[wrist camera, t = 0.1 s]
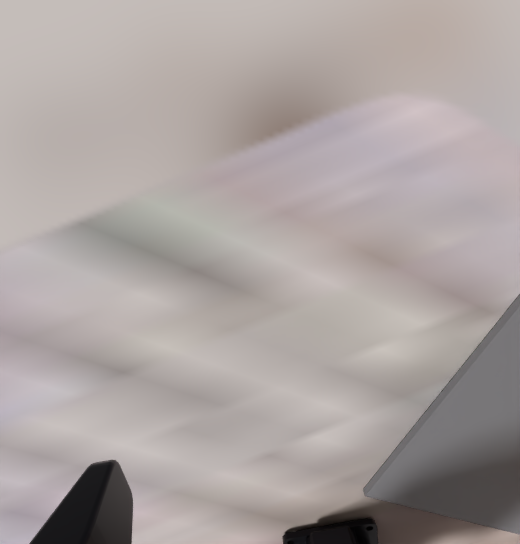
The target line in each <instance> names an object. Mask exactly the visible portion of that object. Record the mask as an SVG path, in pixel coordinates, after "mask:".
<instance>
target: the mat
mask: <svg viewBox="0 0 520 544" xmlns="http://www.w3.org/2000/svg"><path fill="white" fill-rule="evenodd" d="M363 491H364V494H365V496H366V497H371V498H375V499H379V500H383V501H387V502H391V503H395V504H399V505H403V506H407V507H411V508H415V509H419V510H423V511H427V512H431V513H435V514H439V515H443V516H447V517H451V518H455V519H459V520H463V521H467V522H471V523H475V524H479V525H483V526H488V527H492V528H496V529H500V530H504V531H508V532H512V533H516V534H520V295H519V296H518V297H517V298H516V300H515V301H514V302H513V303H512V305H511V306H510V307H509V308H508V310H507V311H506V312H505V313H504V315H503V316H502V317H501V318H500V320H499V321H498V322H497V323H496V325H495V326H494V327H493V328H492V330H491V331H490V332H489V333H488V335H487V336H486V337H485V338H484V340H483V341H482V342H481V343H480V345H479V346H478V347H477V348H476V350H475V351H474V352H473V353H472V354H471V356H470V357H469V358H468V359H467V361H466V362H465V363H464V364H463V366H462V367H461V368H460V369H459V371H458V372H457V373H456V374H455V376H454V377H453V378H452V379H451V381H450V382H449V383H448V384H447V386H446V387H445V388H444V389H443V391H442V392H441V393H440V394H439V396H438V397H437V398H436V399H435V401H434V402H433V403H432V404H431V406H430V407H429V408H428V409H427V411H426V412H425V413H424V414H423V415H422V417H421V418H420V419H419V420H418V422H417V423H416V424H415V425H414V427H413V428H412V429H411V430H410V432H409V433H408V434H407V435H406V437H405V438H404V439H403V440H402V442H401V443H400V444H399V445H398V447H397V448H396V449H395V450H394V452H393V453H392V454H391V455H390V457H389V458H388V459H387V460H386V462H385V463H384V464H383V465H382V467H381V468H380V469H379V470H378V472H377V473H376V474H375V475H374V476H373V478H372V479H371V480H370V481H369V483H368V484H367V485H366V486H365V488H364V489H363Z"/></svg>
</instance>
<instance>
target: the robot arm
mask: <svg viewBox="0 0 520 544" xmlns="http://www.w3.org/2000/svg"><path fill="white" fill-rule="evenodd" d="M132 518H133V498H132V493H131V489H130V487H129V485H128V483H127V480H126V478H125V476H124V474H123V471H122V469H121V467H120V465H119V463H118V462H117V461H116V460H108V461H102V462H97V463H93V464H91V465H90V466H89V467H88V468H87V469H86V470H85V472H84V473H83V474H82V475H81V477H80V478H79V479H78V481H77V482H76V483H75V485H74V486H73V487H72V489H71V490H70V491H69V492H68V494H67V495H66V496H65V498H64V499H63V500H62V502H61V503H60V504H59V506H58V507H57V508H56V509H55V511H54V512H53V513H52V515H51V516H50V517H49V519H48V520H47V521H46V523H45V524H44V525H43V527H42V528H41V529H40V530H39V532H38V533H37V534H36V536H35V537H34V538H33V540H32V541H31V542H30V544H131V542H132ZM283 544H378V536H377V526H376V523H375V520H374V519H371V518H368V519H362V520H357V521H351V522H346V523H340V524H334V525H329V526H323V527H318V528H312V529H307V530H301V531H296V532H290V533H286V534H285V535H284V536H283Z"/></svg>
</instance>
